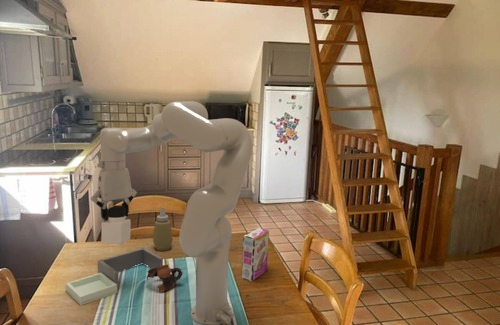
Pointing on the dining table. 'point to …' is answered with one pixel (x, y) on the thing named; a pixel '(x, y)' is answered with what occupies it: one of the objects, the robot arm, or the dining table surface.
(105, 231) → the medicine bottle
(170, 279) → the brown mug
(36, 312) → the dining table surface
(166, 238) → the squeeze bottle
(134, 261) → the bay
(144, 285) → the dining table surface
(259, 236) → the candy bar box
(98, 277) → the tray
